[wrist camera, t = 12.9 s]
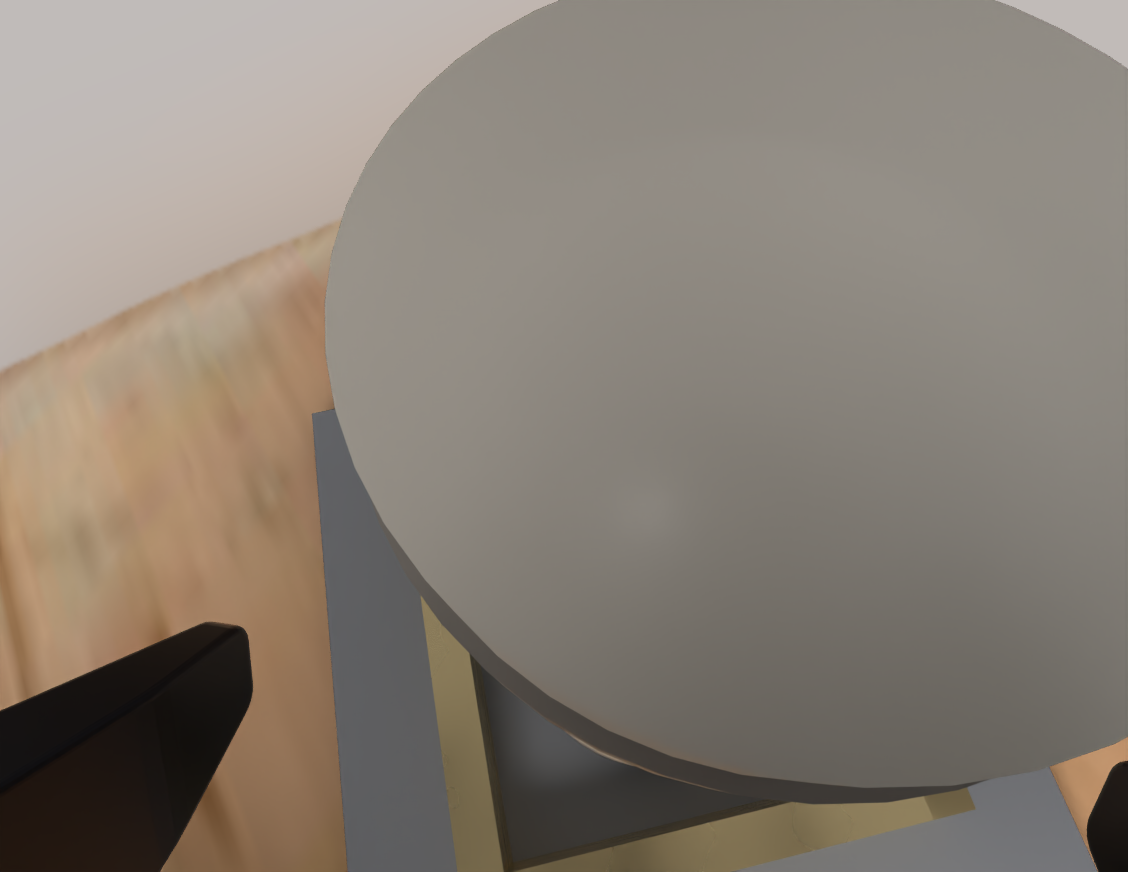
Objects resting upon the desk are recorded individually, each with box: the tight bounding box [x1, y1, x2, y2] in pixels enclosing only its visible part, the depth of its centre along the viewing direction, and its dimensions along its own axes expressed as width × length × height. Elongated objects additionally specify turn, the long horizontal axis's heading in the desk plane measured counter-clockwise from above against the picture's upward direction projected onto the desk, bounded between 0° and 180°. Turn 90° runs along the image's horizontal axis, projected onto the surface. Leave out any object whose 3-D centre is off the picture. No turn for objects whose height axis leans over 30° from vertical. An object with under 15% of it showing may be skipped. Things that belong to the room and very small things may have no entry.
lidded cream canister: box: [325, 0, 1128, 804], centre depth 10 cm, size 6×6×12 cm
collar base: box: [312, 409, 1097, 872], centre depth 15 cm, size 14×14×2 cm
